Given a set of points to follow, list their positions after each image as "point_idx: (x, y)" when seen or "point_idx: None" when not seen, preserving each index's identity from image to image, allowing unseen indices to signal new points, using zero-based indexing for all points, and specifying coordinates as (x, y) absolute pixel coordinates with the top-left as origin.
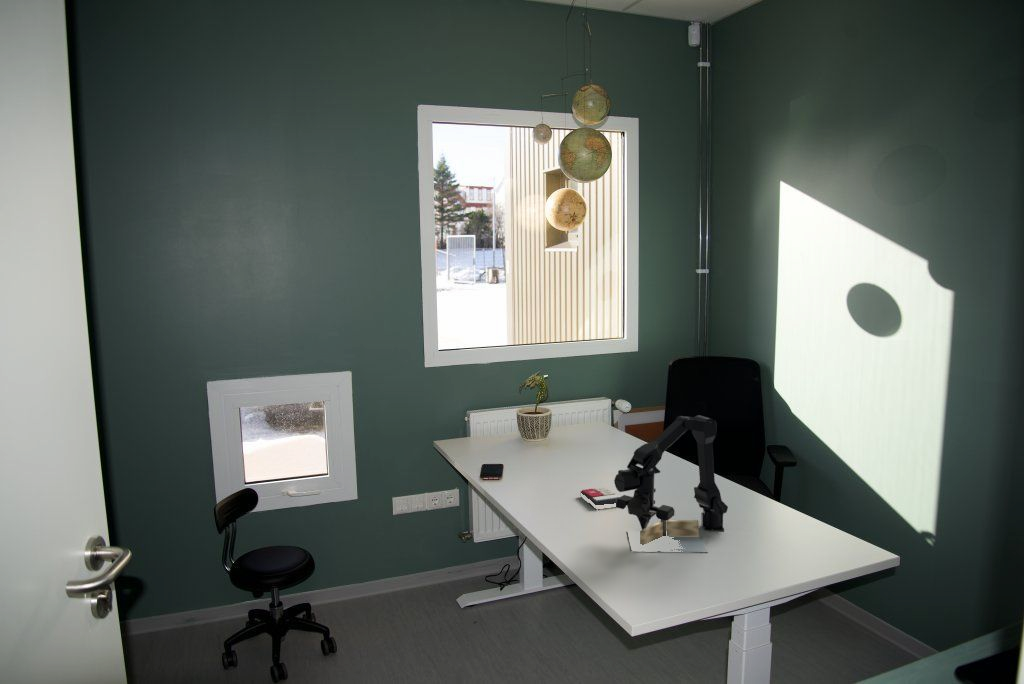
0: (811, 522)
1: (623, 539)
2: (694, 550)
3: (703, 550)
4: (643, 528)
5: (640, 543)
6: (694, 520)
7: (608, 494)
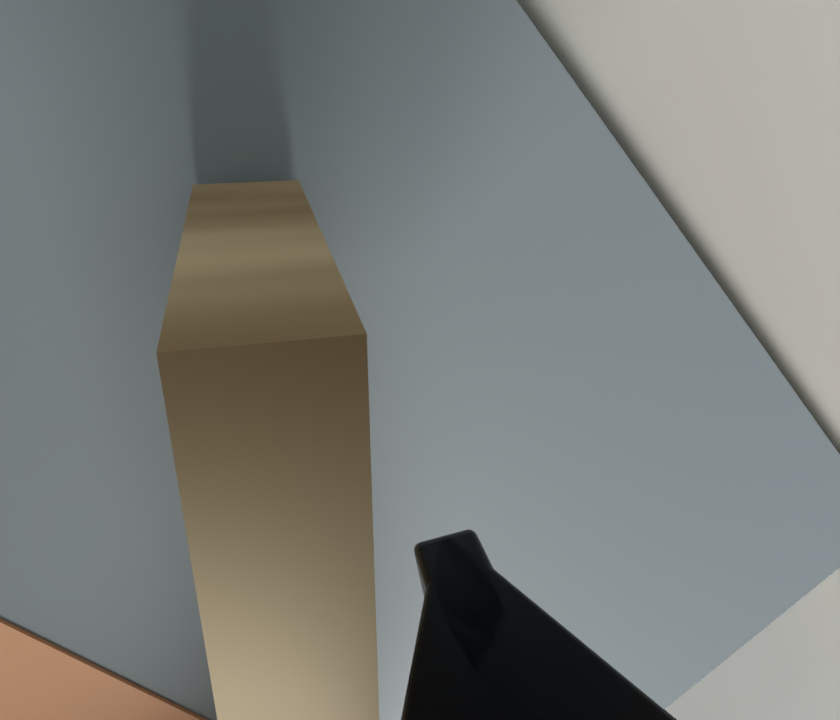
0: None
1: (793, 208)
2: None
3: None
4: (445, 625)
5: (292, 189)
6: None
7: None
